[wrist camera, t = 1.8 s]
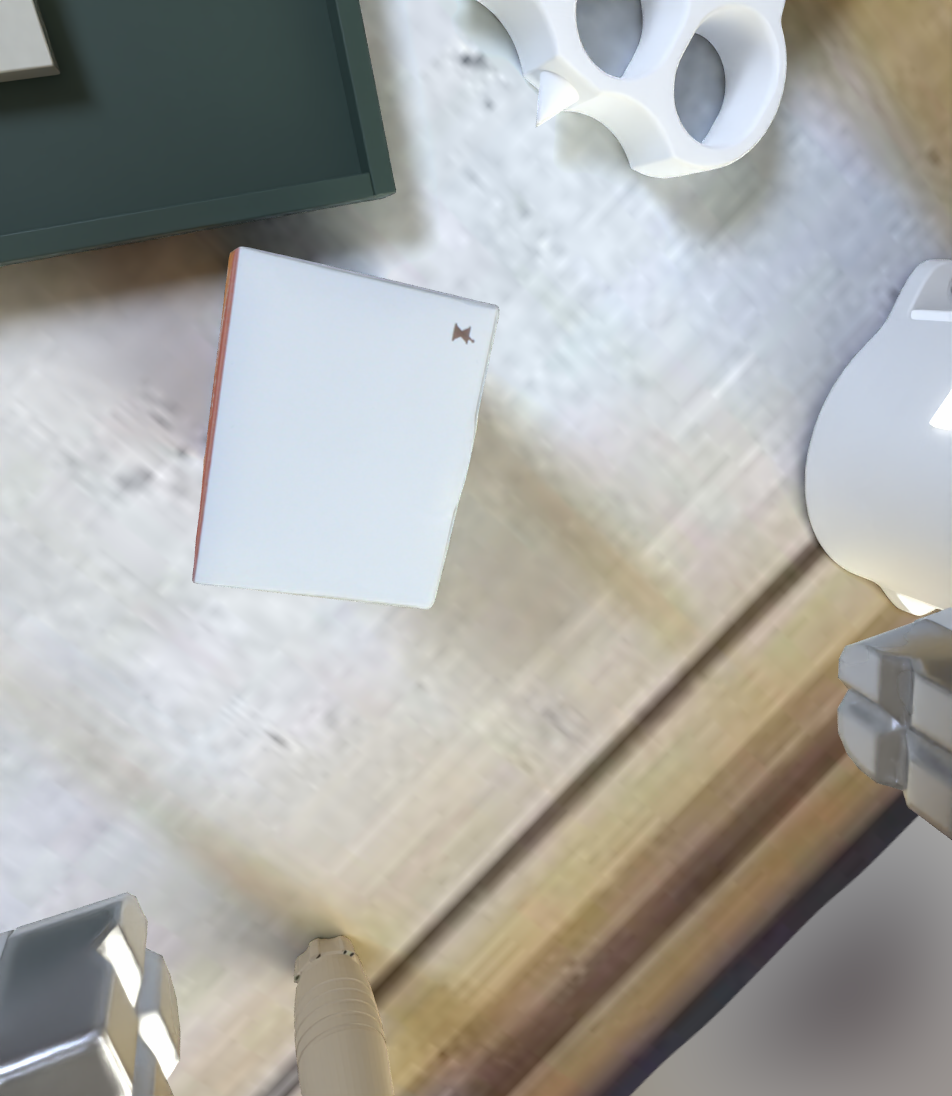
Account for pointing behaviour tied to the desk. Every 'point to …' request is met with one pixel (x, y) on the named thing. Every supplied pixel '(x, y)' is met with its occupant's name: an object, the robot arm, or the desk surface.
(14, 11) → the chalk block
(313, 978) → the handle
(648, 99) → the white brass knuckles
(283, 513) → the small box
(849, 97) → the desk surface
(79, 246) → the tray
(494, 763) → the desk surface
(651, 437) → the desk surface
